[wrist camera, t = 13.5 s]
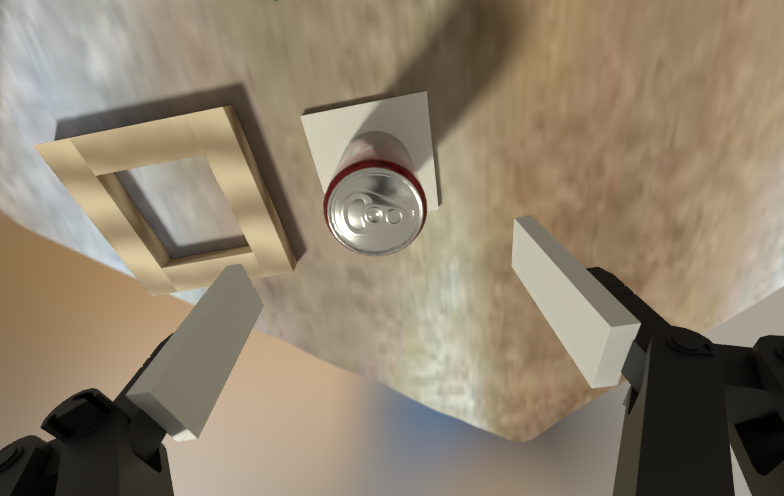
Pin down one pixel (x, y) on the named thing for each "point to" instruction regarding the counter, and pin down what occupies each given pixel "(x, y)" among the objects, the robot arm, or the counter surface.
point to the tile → (387, 115)
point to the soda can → (375, 196)
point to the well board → (163, 144)
